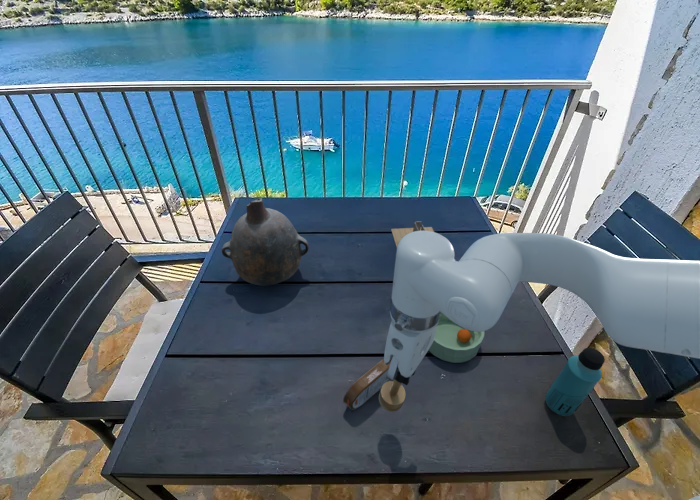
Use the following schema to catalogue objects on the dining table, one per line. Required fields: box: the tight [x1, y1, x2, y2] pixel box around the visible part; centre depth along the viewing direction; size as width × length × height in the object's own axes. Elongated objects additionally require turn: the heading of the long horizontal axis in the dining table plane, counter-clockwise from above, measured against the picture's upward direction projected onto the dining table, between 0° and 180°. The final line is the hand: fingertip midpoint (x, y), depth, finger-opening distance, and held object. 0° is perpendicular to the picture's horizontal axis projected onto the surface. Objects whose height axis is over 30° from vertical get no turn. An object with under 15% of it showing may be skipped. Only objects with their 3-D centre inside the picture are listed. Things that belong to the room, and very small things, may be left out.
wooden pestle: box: [378, 379, 407, 412], centre depth 66 cm, size 5×5×16 cm
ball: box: [457, 329, 471, 343], centre depth 94 cm, size 4×4×4 cm
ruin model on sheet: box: [390, 220, 435, 248], centre depth 125 cm, size 25×16×10 cm, turn 5°
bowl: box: [428, 313, 485, 364], centre depth 94 cm, size 16×16×6 cm
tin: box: [343, 358, 391, 411], centre depth 81 cm, size 15×3×8 cm, turn 131°
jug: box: [221, 197, 310, 286], centre depth 107 cm, size 24×21×30 cm
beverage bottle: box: [545, 347, 606, 417], centre depth 75 cm, size 6×7×20 cm
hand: (403, 374), depth 64 cm, fingers closed on wooden pestle
